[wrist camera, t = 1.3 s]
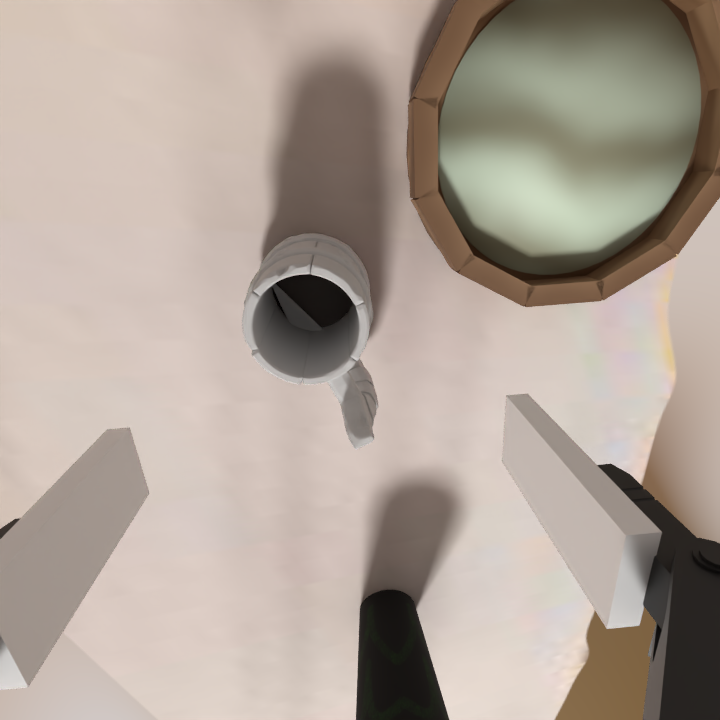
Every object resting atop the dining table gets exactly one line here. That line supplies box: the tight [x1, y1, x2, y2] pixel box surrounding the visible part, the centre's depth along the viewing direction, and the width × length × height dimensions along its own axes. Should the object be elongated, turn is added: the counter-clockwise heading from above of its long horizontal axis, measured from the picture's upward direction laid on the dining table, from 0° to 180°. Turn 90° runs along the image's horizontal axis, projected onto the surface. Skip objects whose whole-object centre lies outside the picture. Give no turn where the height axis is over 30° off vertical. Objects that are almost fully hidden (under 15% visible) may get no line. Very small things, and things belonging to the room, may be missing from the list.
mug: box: [242, 233, 378, 449], centre depth 25 cm, size 8×12×12 cm, turn 27°
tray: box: [407, 0, 720, 307], centre depth 26 cm, size 20×20×3 cm
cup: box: [356, 590, 449, 720], centre depth 37 cm, size 8×8×12 cm
